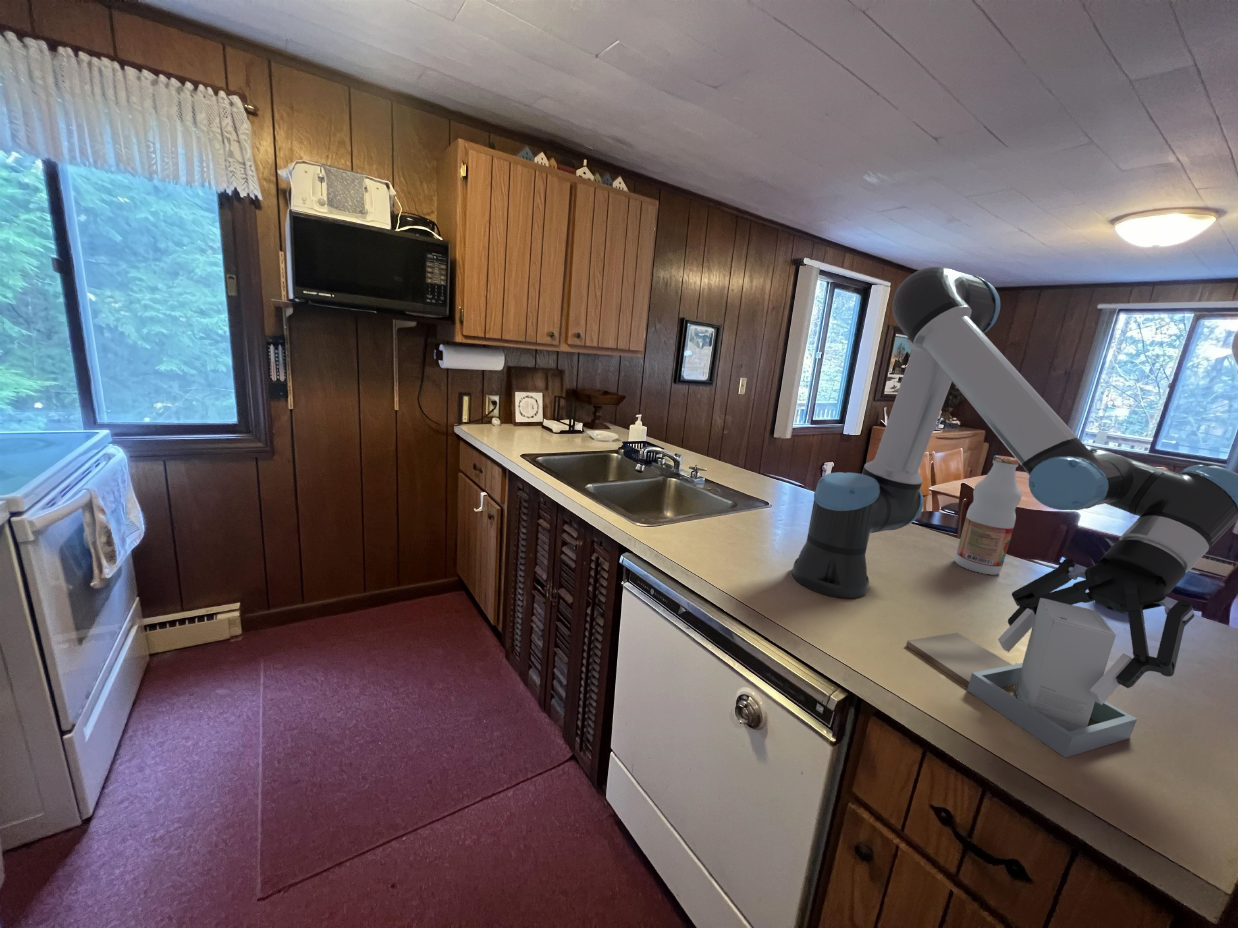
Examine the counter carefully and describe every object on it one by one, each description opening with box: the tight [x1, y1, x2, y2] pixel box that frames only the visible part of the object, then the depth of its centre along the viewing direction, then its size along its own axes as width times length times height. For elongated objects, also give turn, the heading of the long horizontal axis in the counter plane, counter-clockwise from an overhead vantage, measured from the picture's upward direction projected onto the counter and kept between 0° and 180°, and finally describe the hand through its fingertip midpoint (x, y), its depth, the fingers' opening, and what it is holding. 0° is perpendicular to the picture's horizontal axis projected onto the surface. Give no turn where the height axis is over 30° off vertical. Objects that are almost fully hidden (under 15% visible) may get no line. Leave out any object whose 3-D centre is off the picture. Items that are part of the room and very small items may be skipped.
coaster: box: [905, 632, 1013, 688], centre depth 80 cm, size 11×12×1 cm
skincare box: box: [1014, 598, 1117, 732], centre depth 67 cm, size 8×7×16 cm
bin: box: [966, 662, 1138, 759], centre depth 68 cm, size 13×14×3 cm
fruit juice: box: [954, 455, 1022, 576], centre depth 117 cm, size 9×9×28 cm
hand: (1045, 669), depth 66 cm, fingers open, 10 cm apart
